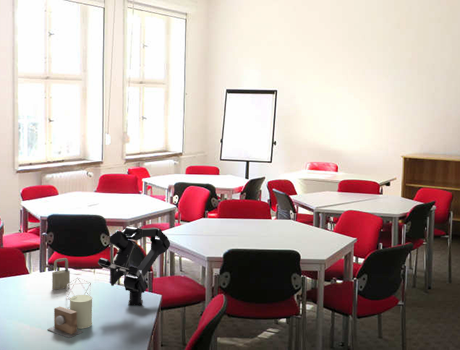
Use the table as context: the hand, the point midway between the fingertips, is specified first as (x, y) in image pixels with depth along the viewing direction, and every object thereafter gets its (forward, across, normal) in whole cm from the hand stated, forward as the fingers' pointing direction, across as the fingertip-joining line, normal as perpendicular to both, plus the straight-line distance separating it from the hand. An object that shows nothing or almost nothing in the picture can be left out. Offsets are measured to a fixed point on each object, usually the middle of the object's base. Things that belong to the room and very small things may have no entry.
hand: (112, 285), depth 257 cm
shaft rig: (+25, +8, +11) cm, 28 cm away
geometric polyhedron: (+8, +20, -21) cm, 30 cm away
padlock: (+3, +36, -34) cm, 49 cm away
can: (+20, +5, +4) cm, 21 cm away
